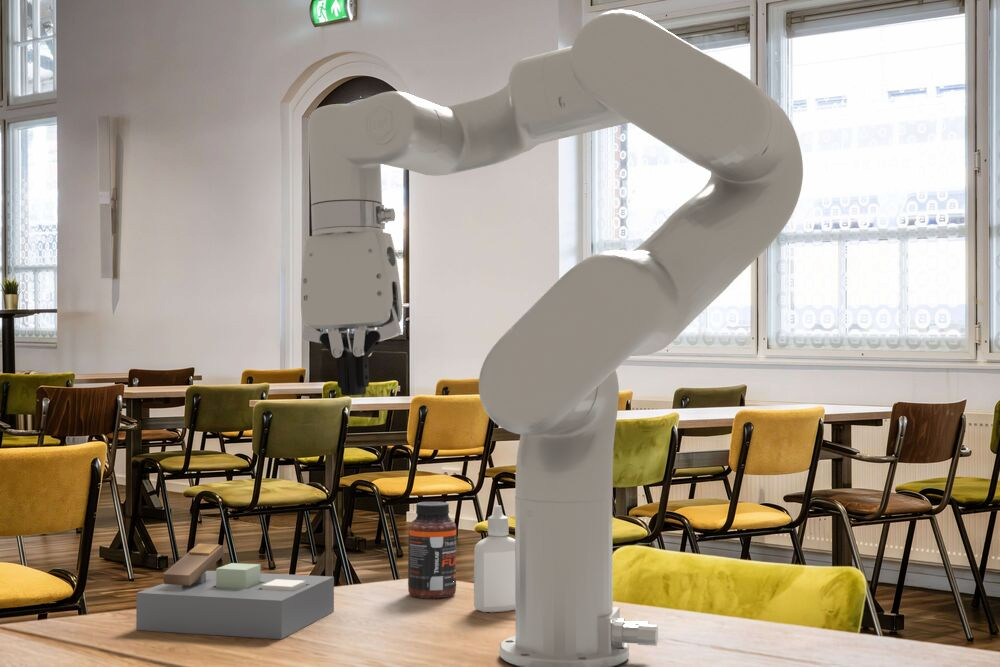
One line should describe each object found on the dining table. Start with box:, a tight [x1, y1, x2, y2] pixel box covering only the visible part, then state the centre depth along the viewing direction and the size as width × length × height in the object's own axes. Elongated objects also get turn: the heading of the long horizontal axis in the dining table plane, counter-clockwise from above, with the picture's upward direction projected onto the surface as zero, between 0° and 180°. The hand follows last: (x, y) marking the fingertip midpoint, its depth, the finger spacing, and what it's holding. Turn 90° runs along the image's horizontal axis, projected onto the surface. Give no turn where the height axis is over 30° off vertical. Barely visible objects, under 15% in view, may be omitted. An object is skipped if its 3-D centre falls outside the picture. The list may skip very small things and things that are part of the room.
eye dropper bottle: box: [473, 504, 515, 613], centre depth 141 cm, size 4×6×12 cm
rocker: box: [162, 543, 225, 585], centre depth 137 cm, size 3×8×1 cm, turn 165°
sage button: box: [215, 562, 262, 589], centre depth 136 cm, size 4×4×3 cm
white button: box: [262, 579, 306, 592], centre depth 134 cm, size 4×4×3 cm
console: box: [135, 570, 335, 640], centre depth 136 cm, size 17×14×5 cm
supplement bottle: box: [407, 501, 457, 600], centre depth 150 cm, size 6×6×11 cm
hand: (353, 394), depth 129 cm, fingers closed
